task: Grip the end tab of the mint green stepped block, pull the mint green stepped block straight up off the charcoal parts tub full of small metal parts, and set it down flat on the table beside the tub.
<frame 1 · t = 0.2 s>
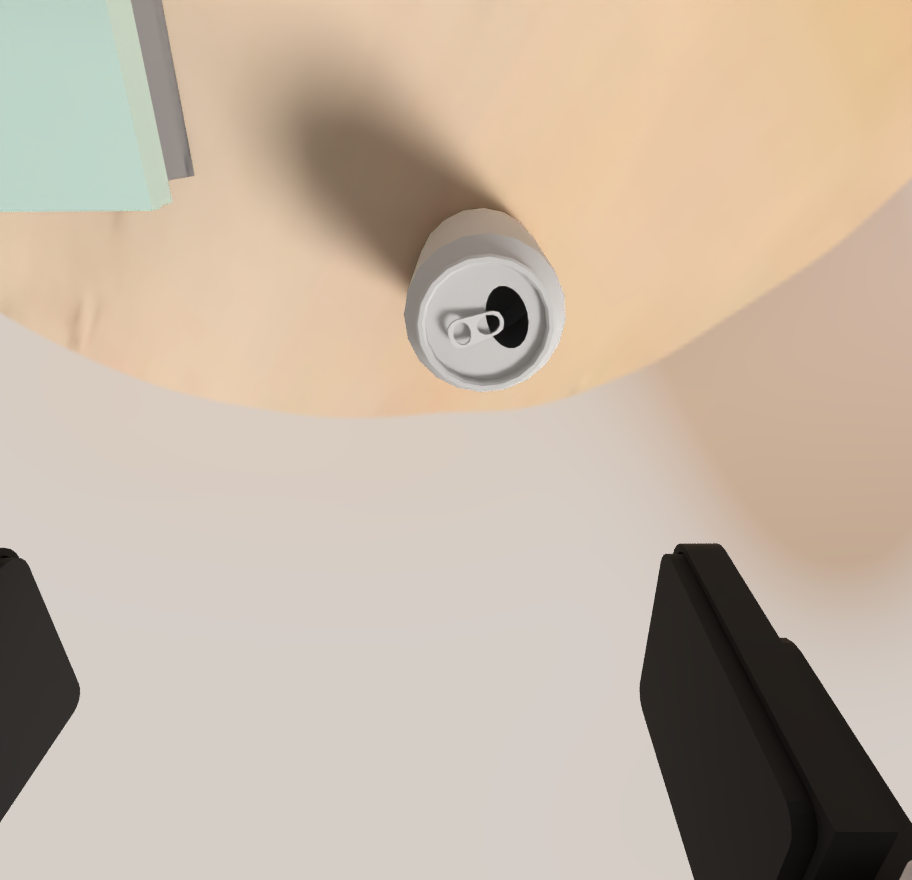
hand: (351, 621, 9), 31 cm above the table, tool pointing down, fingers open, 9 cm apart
tub: (71, 64, 33), on the table
can: (479, 270, 37), on the table
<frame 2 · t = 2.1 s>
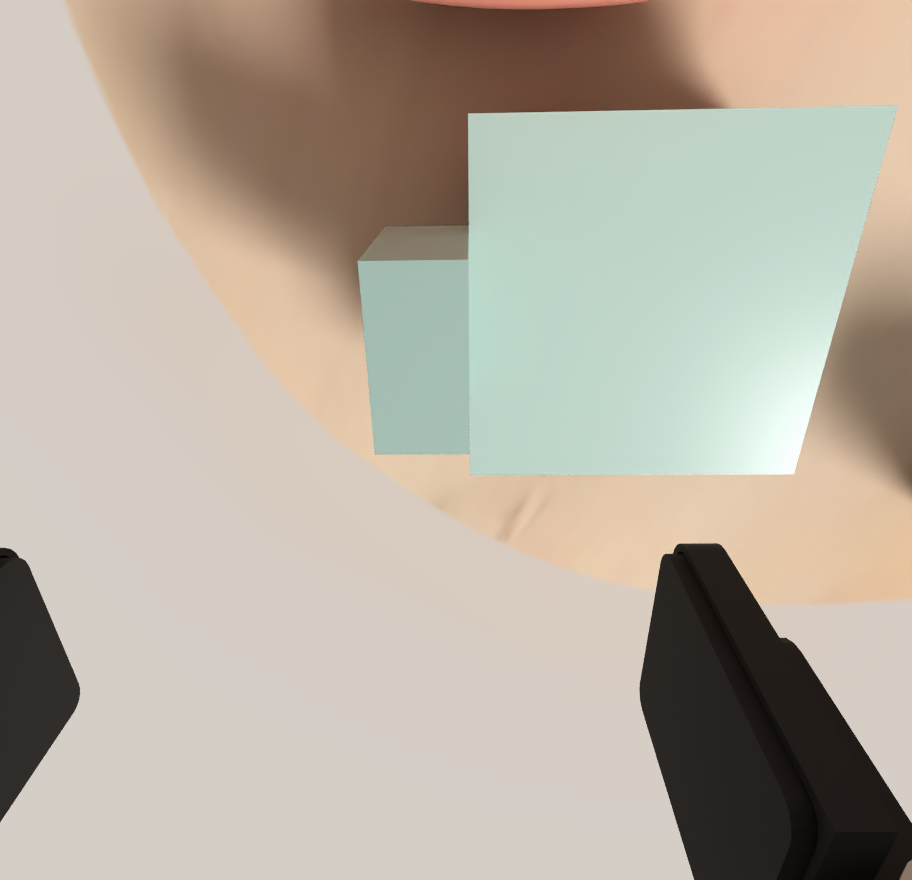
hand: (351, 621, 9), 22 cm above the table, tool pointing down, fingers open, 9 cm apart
mint green stepped block: (645, 309, 22), point 7 cm above the table, touching tub
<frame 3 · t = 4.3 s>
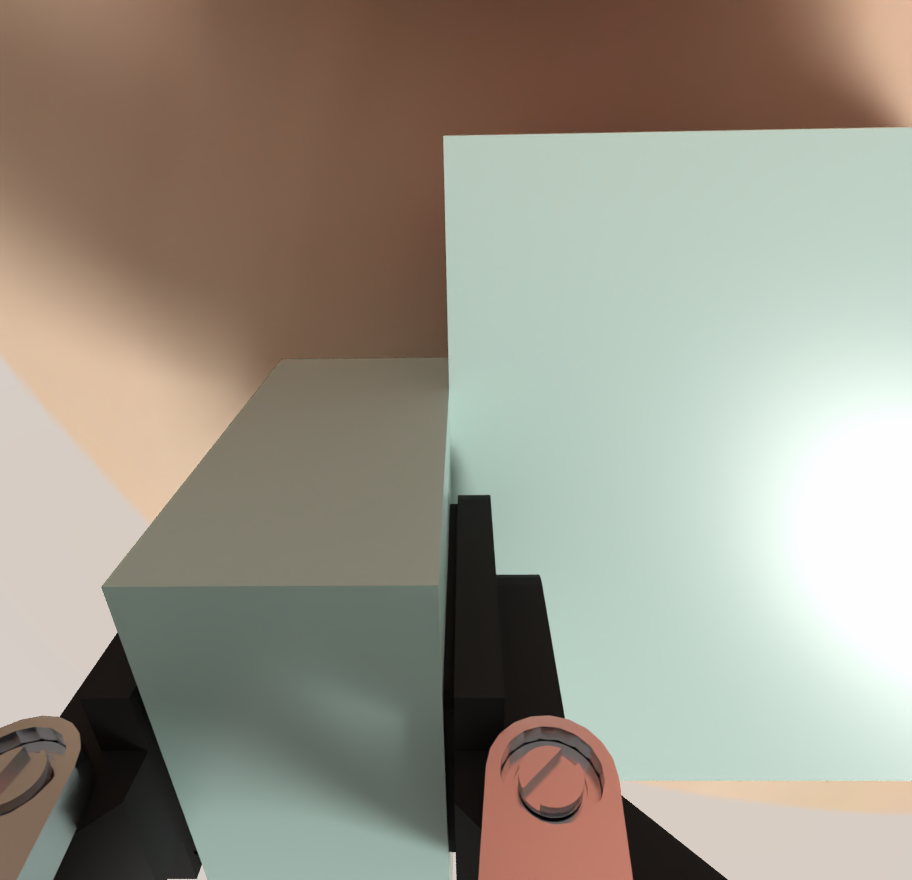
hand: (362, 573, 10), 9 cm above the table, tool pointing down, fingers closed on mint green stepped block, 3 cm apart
mint green stepped block: (796, 512, 11), point 7 cm above the table, touching gripper, tub
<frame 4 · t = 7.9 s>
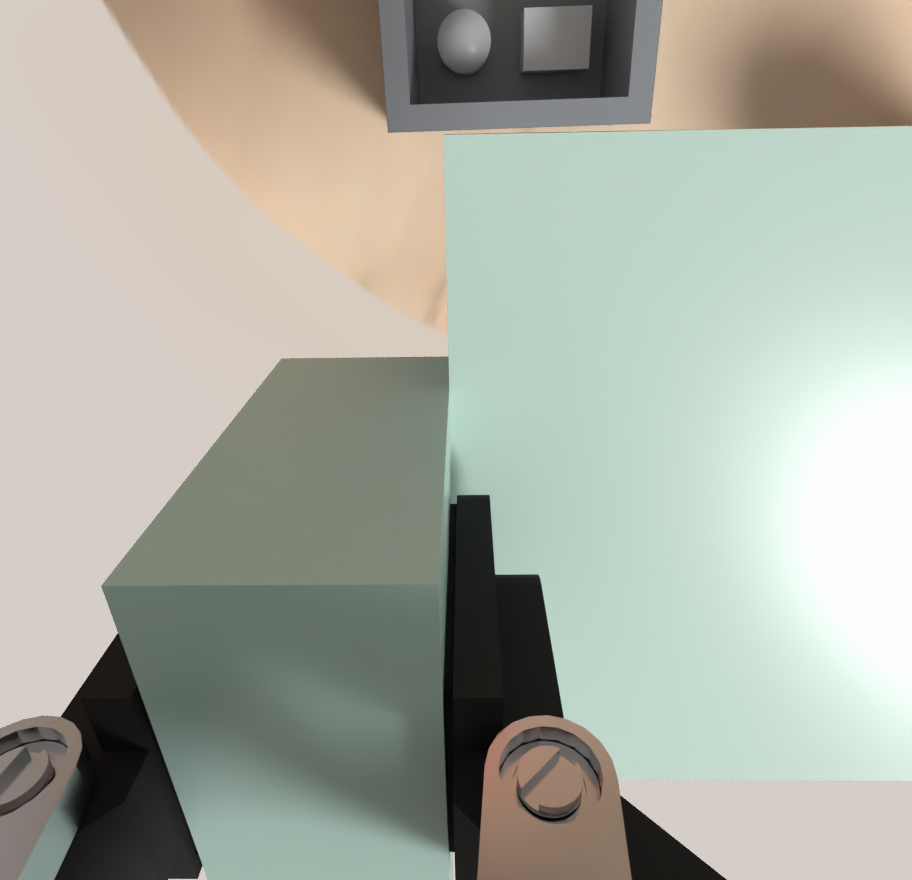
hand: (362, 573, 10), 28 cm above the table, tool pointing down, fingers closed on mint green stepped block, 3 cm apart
mint green stepped block: (797, 512, 11), point 26 cm above the table, touching gripper
when the fingers open (4 cm above the table, at t = 11.7 s): mint green stepped block stays where it is, point 1 cm above the table.
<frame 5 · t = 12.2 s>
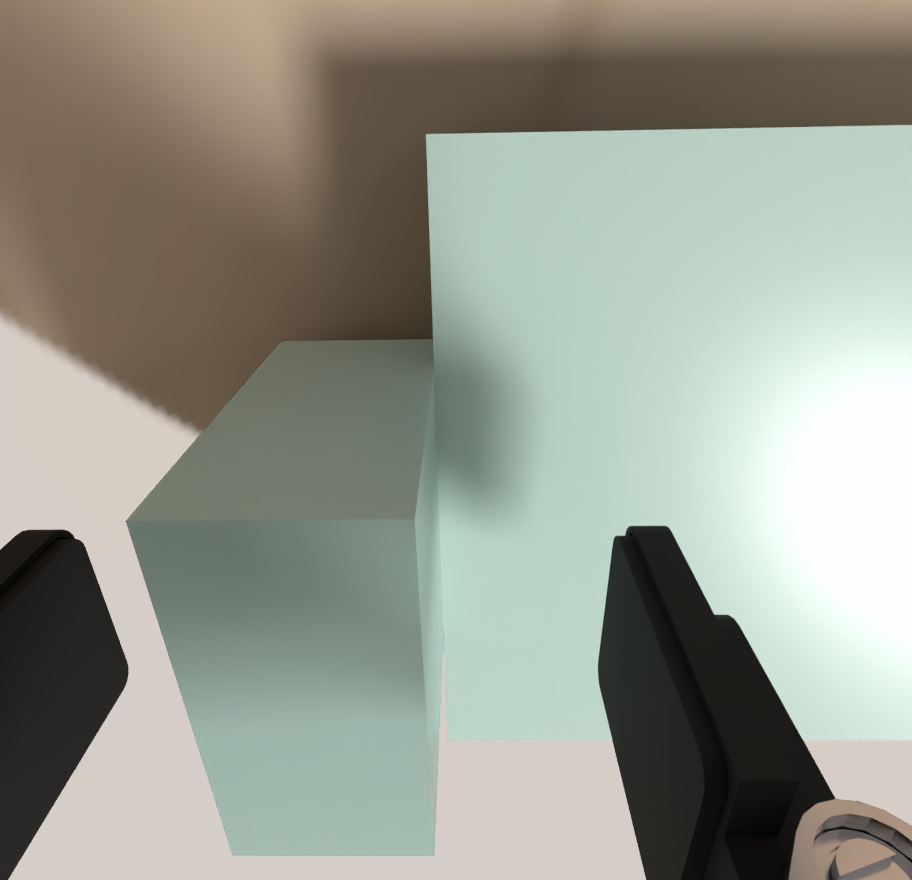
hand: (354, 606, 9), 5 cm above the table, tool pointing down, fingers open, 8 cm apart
mint green stepped block: (759, 484, 12), point 1 cm above the table
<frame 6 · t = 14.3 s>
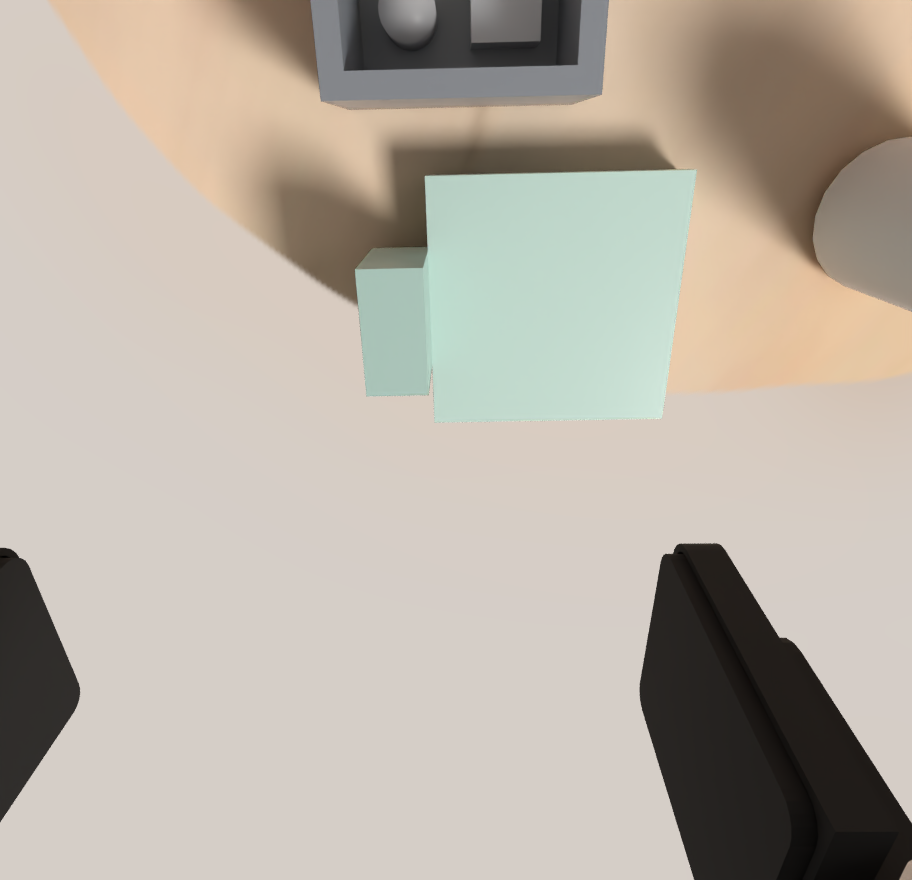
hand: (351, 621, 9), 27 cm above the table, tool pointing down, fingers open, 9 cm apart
mint green stepped block: (551, 303, 33), point 1 cm above the table
can: (874, 215, 32), on the table
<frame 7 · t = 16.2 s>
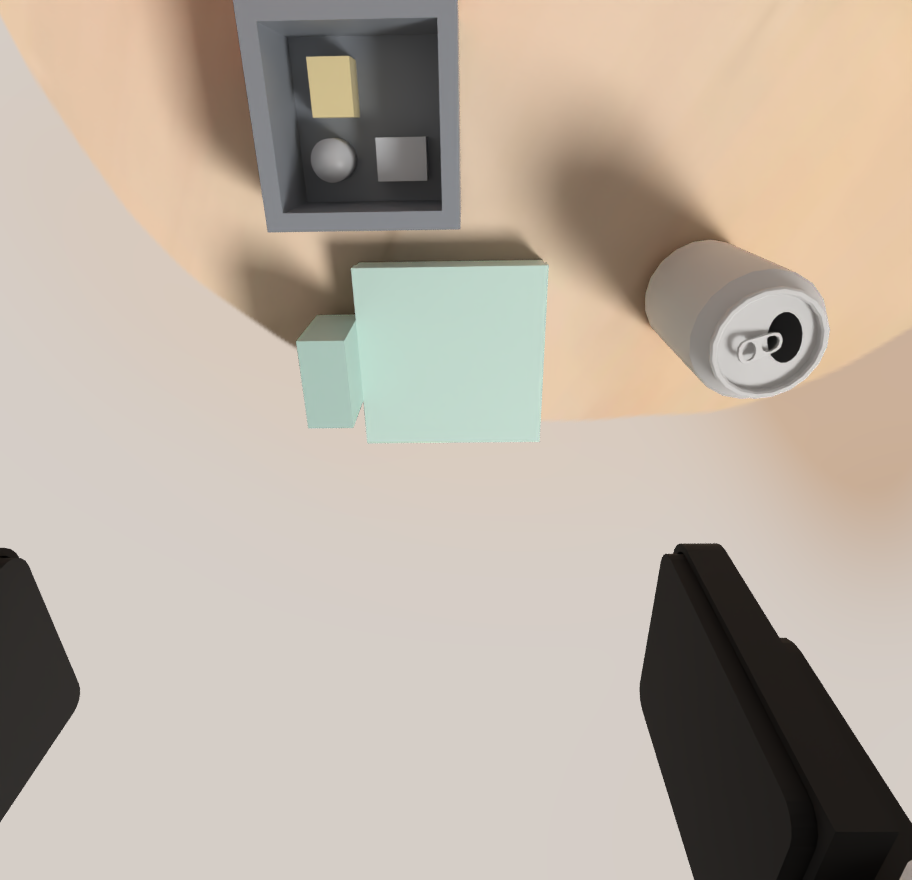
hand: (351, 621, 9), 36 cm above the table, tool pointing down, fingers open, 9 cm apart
tub: (372, 123, 38), on the table
mint green stepped block: (451, 356, 44), point 1 cm above the table
can: (693, 291, 43), on the table
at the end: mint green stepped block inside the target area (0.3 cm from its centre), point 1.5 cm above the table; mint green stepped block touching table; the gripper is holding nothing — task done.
